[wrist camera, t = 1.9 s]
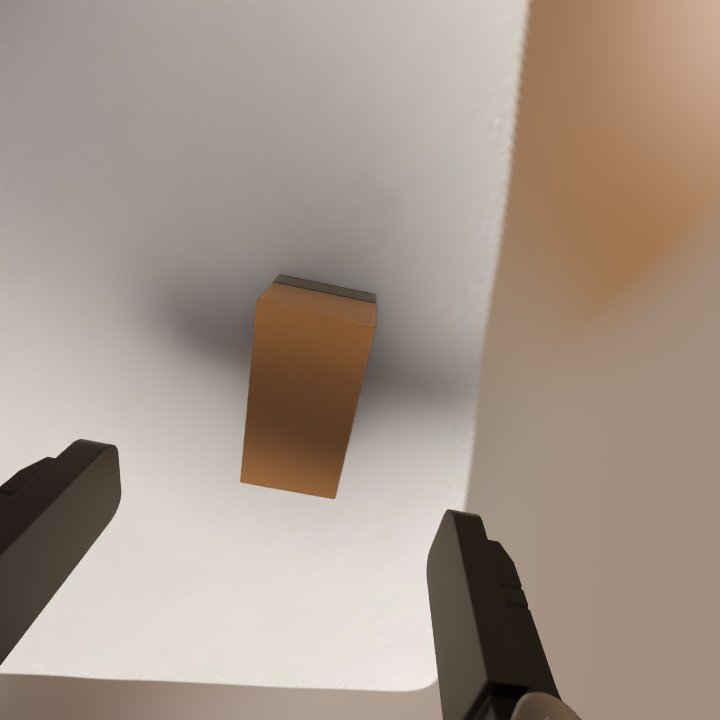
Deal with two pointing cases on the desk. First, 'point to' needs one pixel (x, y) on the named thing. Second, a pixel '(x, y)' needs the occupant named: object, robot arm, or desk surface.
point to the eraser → (305, 384)
